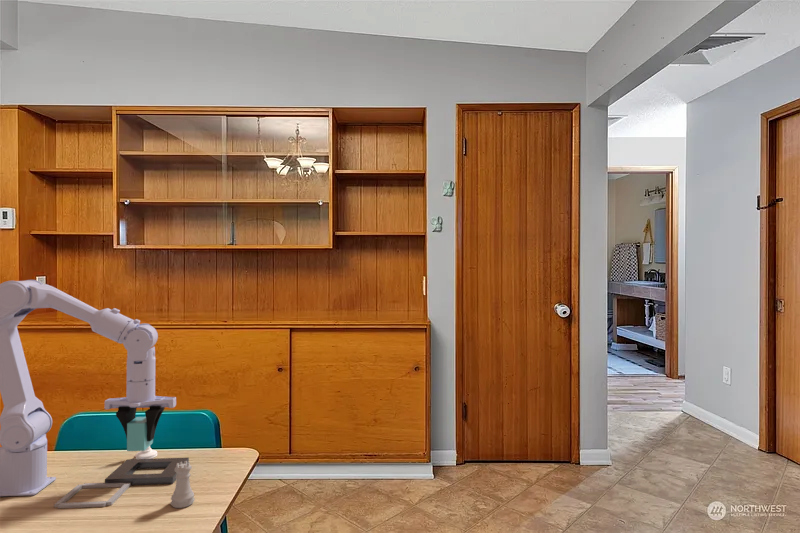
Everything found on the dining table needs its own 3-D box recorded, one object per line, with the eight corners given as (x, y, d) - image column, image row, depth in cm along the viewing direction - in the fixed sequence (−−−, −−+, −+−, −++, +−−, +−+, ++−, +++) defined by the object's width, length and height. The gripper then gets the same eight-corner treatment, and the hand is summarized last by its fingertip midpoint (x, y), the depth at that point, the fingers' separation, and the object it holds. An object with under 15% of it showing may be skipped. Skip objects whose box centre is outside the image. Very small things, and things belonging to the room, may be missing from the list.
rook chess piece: (185, 510, 96) (186, 469, 96) (165, 507, 97) (165, 466, 97) (199, 499, 100) (199, 460, 100) (179, 497, 101) (180, 458, 101)
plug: (126, 451, 108) (127, 423, 108) (136, 443, 112) (136, 417, 112) (144, 450, 108) (144, 423, 108) (152, 442, 113) (153, 416, 113)
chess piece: (130, 459, 121) (131, 418, 121) (144, 451, 126) (144, 412, 126) (148, 460, 120) (149, 419, 120) (161, 453, 125) (162, 413, 125)
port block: (104, 486, 106) (104, 479, 106) (127, 465, 117) (127, 459, 117) (172, 483, 108) (172, 476, 108) (188, 463, 118) (188, 457, 118)
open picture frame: (52, 508, 96) (52, 505, 96) (79, 486, 106) (79, 483, 106) (110, 506, 97) (110, 503, 97) (131, 484, 107) (131, 481, 107)
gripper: (97, 384, 106) (97, 447, 106) (168, 382, 107) (168, 445, 107) (113, 376, 113) (112, 436, 113) (179, 375, 114) (179, 434, 114)
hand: (140, 440), depth 110 cm, fingers closed on plug, 4 cm apart
